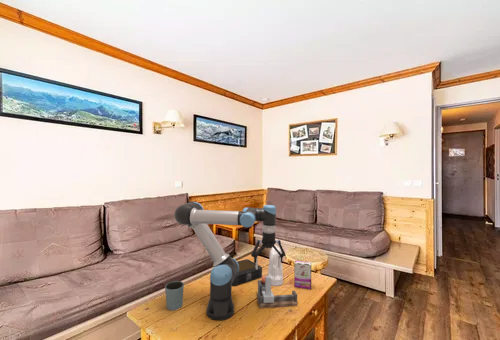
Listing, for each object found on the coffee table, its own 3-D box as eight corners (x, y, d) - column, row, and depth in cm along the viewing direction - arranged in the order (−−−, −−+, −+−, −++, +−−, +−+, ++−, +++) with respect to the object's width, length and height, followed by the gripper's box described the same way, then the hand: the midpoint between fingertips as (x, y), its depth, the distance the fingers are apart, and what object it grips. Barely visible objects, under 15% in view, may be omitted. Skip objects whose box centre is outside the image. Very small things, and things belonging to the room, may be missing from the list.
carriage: (263, 303, 132) (264, 279, 132) (261, 297, 138) (262, 274, 138) (274, 302, 133) (274, 278, 133) (271, 297, 139) (272, 274, 139)
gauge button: (262, 283, 143) (262, 278, 143) (261, 281, 146) (261, 275, 146) (267, 283, 143) (267, 278, 143) (266, 281, 147) (266, 275, 146)
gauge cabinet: (259, 298, 141) (259, 285, 141) (257, 293, 147) (257, 280, 147) (270, 297, 142) (270, 284, 142) (268, 292, 148) (268, 280, 148)
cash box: (233, 287, 154) (234, 276, 154) (219, 275, 171) (219, 265, 171) (263, 278, 169) (263, 267, 169) (247, 268, 185) (247, 258, 185)
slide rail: (258, 308, 131) (259, 298, 131) (256, 300, 139) (256, 291, 139) (298, 305, 134) (298, 296, 134) (293, 298, 142) (293, 289, 142)
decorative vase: (282, 286, 156) (283, 249, 156) (266, 285, 158) (267, 248, 158) (283, 279, 166) (283, 244, 166) (268, 277, 168) (269, 243, 168)
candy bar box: (311, 286, 157) (311, 261, 157) (311, 289, 153) (311, 264, 153) (294, 283, 160) (294, 260, 160) (293, 287, 155) (294, 262, 155)
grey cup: (187, 304, 134) (187, 283, 134) (173, 313, 125) (173, 291, 125) (175, 299, 139) (175, 279, 139) (160, 307, 130) (161, 286, 130)
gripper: (248, 233, 130) (247, 271, 131) (291, 233, 134) (290, 270, 134) (247, 230, 138) (246, 266, 138) (287, 230, 141) (286, 264, 141)
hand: (267, 268), depth 136 cm, fingers open, 13 cm apart
